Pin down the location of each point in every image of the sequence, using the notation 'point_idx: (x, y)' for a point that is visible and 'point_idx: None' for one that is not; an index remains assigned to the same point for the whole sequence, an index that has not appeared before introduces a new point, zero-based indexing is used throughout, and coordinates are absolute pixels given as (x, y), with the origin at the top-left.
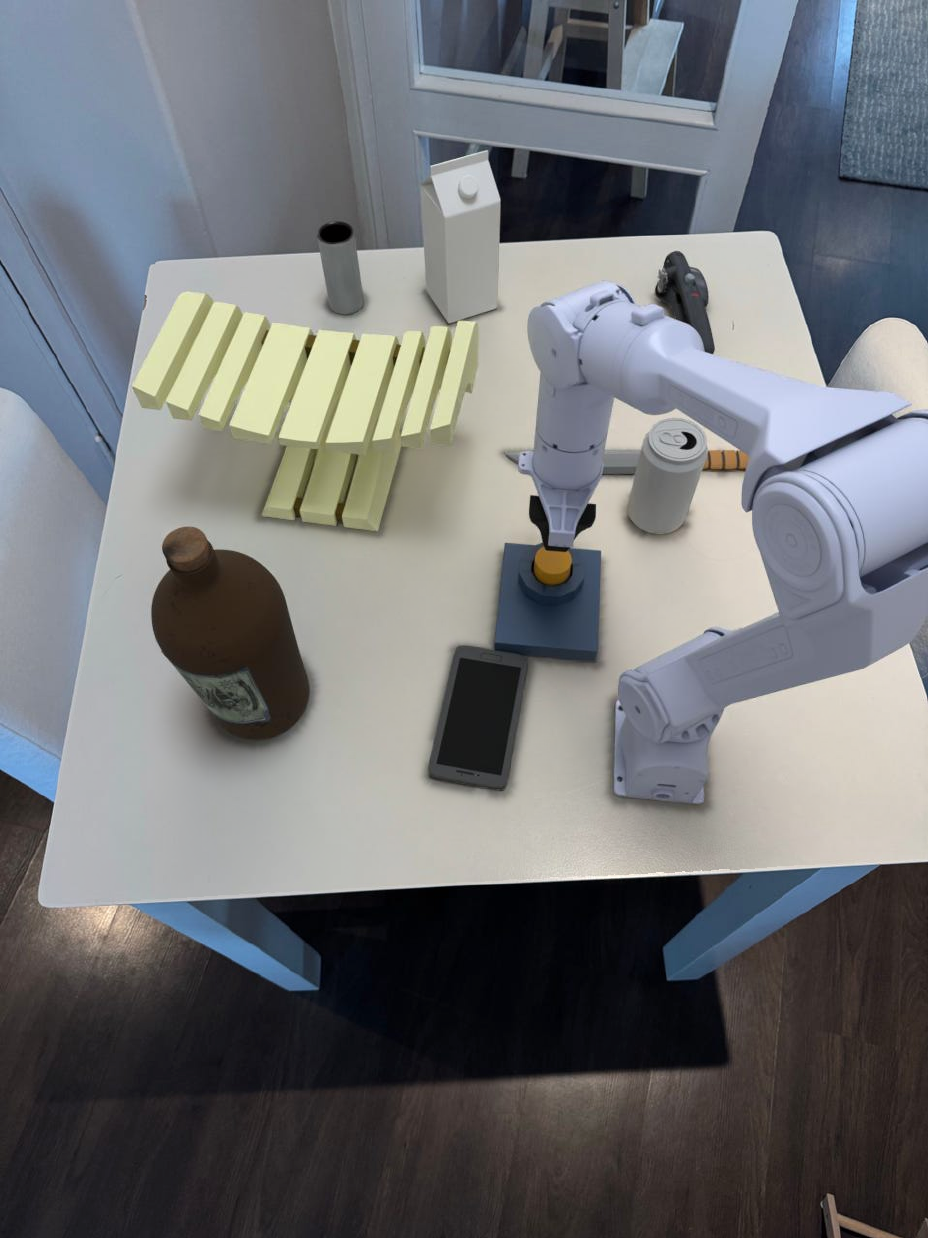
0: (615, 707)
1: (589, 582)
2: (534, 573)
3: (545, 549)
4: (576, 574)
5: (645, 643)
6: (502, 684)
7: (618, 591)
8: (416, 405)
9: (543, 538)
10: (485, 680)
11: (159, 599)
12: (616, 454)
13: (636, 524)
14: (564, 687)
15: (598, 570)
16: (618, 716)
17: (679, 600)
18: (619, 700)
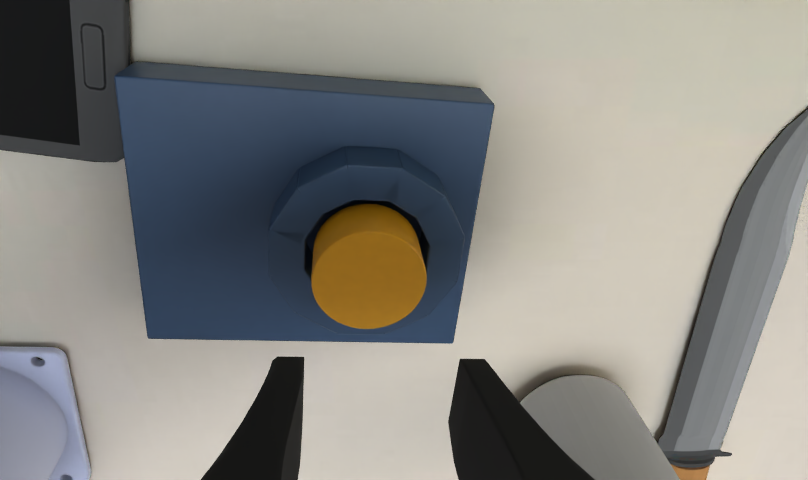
0: (39, 350)
1: None
2: (352, 206)
3: (274, 359)
4: None
5: (232, 395)
6: (6, 92)
7: (364, 349)
8: None
9: (244, 420)
10: (2, 40)
11: None
12: (741, 351)
13: (534, 392)
14: (73, 242)
15: (391, 339)
16: (14, 357)
17: (346, 448)
18: (57, 359)
